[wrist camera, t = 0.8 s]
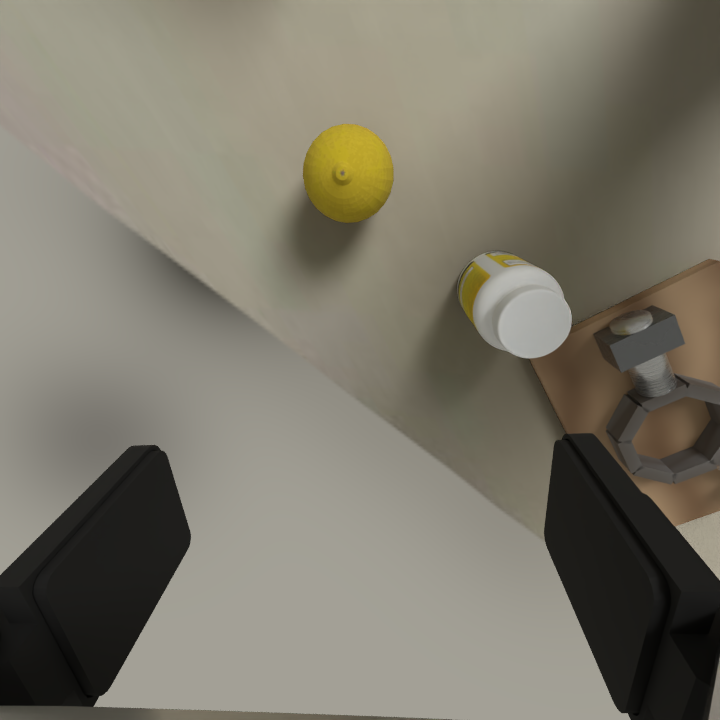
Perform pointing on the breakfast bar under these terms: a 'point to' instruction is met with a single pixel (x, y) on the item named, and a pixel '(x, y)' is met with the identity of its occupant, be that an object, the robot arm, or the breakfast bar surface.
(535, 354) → the supplement bottle
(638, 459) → the octagonal ring mount
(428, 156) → the breakfast bar surface
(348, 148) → the lemon
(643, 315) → the shaft
